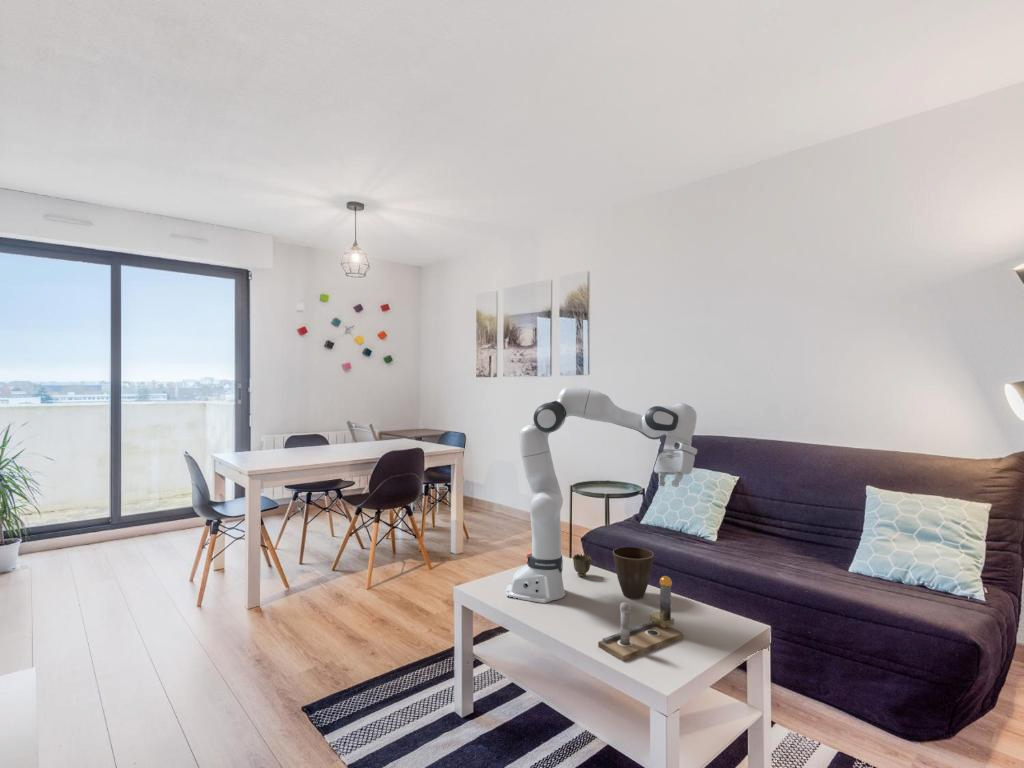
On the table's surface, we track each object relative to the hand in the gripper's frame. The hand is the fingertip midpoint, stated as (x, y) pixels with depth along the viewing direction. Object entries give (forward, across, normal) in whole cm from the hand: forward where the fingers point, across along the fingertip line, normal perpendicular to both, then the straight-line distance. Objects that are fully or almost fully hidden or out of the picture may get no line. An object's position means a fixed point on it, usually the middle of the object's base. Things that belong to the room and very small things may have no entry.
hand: (667, 486), depth 179 cm
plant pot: (+40, -21, +8) cm, 46 cm away
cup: (+40, -45, -4) cm, 60 cm away
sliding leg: (+44, +8, +5) cm, 45 cm away
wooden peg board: (+50, +13, -3) cm, 51 cm away
